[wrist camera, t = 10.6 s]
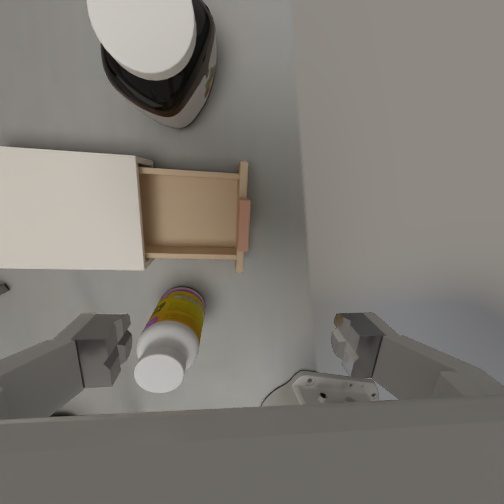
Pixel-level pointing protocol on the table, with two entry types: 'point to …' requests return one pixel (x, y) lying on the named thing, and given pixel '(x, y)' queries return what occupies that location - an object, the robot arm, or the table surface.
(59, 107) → the table surface
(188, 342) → the supplement bottle
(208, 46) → the spread jar
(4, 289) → the caliper
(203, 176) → the tray
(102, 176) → the sleeve
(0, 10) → the table surface
